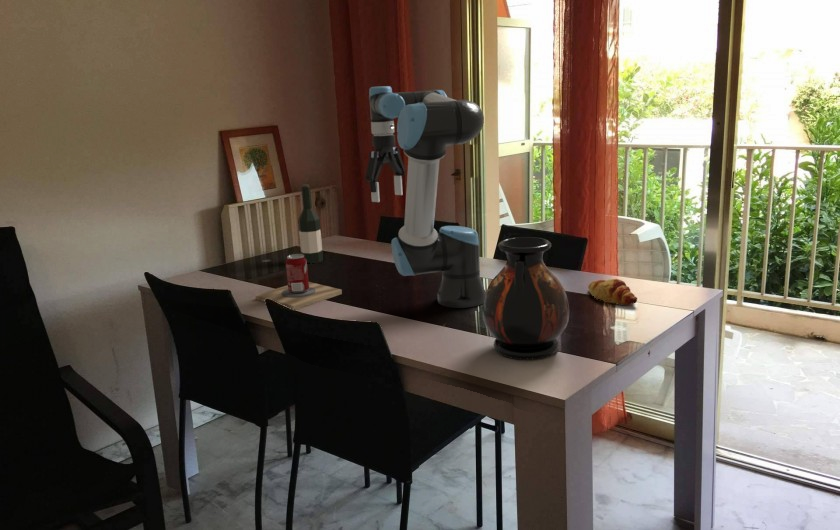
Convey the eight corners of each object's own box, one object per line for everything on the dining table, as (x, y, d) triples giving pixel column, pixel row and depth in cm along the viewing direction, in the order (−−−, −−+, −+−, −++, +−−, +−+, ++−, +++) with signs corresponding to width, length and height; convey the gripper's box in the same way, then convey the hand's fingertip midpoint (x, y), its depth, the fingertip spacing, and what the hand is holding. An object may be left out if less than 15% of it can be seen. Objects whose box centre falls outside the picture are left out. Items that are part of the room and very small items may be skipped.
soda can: (305, 294, 236) (301, 258, 233) (285, 294, 238) (281, 258, 235) (312, 288, 243) (308, 253, 239) (293, 288, 244) (289, 253, 241)
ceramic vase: (492, 332, 199) (489, 231, 191) (573, 336, 192) (573, 232, 185) (475, 363, 179) (471, 252, 172) (564, 368, 173) (564, 254, 165)
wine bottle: (321, 263, 281) (314, 186, 274) (300, 264, 282) (292, 187, 274) (324, 257, 289) (318, 182, 282) (303, 258, 290) (296, 183, 282)
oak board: (341, 293, 241) (341, 288, 240) (293, 310, 227) (293, 304, 226) (303, 284, 254) (303, 279, 254) (255, 299, 240) (255, 294, 239)
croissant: (582, 302, 230) (572, 283, 227) (604, 283, 233) (594, 264, 229) (629, 319, 211) (619, 298, 208) (652, 298, 214) (643, 277, 211)
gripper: (370, 138, 229) (374, 205, 234) (413, 130, 249) (416, 192, 254) (351, 138, 233) (356, 204, 238) (395, 130, 253) (399, 191, 258)
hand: (387, 198), depth 246 cm, fingers open, 13 cm apart
